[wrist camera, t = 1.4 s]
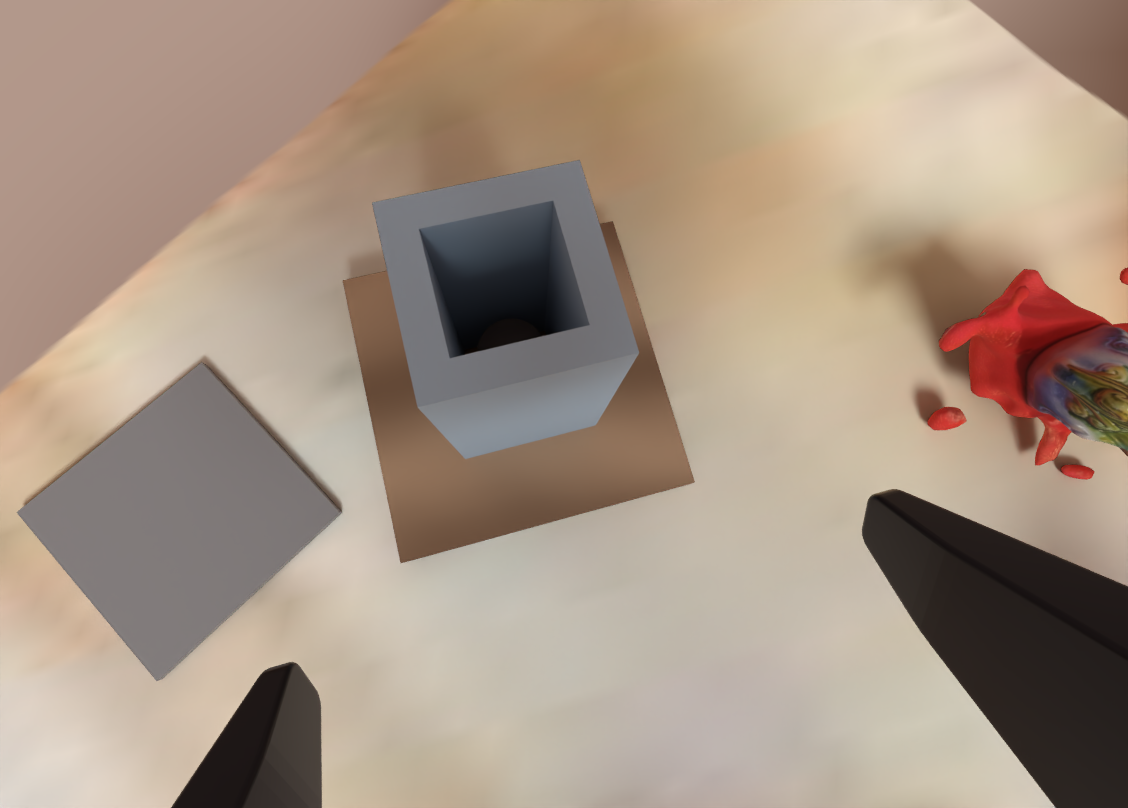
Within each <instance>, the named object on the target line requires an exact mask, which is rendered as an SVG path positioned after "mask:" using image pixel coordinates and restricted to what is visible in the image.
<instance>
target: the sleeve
mask: <svg viewBox="0 0 1128 808" xmlns="http://www.w3.org/2000/svg"><path fill="white" fill-rule="evenodd" d="M372 205H373V209H374V214H375V218H376V223H377V227H378V232H379V236H380V241H381V245H382V250H383V254H384V259H385V263H386V268H387V272H388V277H389V281H390V286H391V290H392V295H393V299H394V304H395V308H396V313H397V317H398V322H399V326H400V331H401V335H402V340H403V344H404V349H405V353H406V358H407V362H408V367H409V371H410V376H411V380H412V385H413V389H414V394H415V398H416V403H417V407H418V408H419V409H420V411H421V412H422V413H423V414H424V415H425V416H426V417H427V418H428V419H429V420H430V421H431V422H432V424H433V425H434V426H435V427H436V428H437V429H438V430H439V431H440V432H441V433H442V434H443V436H444V437H445V438H446V439H447V440H448V441H449V442H450V443H451V444H452V445H453V446H454V447H455V449H456V450H457V451H458V452H459V453H460V454H461V455H462V456H463V457H464V458H465V459H468V458H472V457H475V456H479V455H483V454H487V453H491V452H495V451H499V450H503V449H506V448H510V447H514V446H518V445H522V444H526V443H530V442H533V441H537V440H541V439H545V438H549V437H553V436H557V435H561V434H564V433H568V432H572V431H576V430H580V429H584V428H588V427H592V426H595V425H596V424H597V422H598V421H599V419H600V417H601V416H602V414H603V412H604V411H605V409H606V407H607V406H608V404H609V402H610V401H611V399H612V397H613V396H614V394H615V392H616V391H617V389H618V387H619V386H620V384H621V382H622V381H623V379H624V377H625V376H626V374H627V372H628V371H629V369H630V367H631V366H632V364H633V362H634V361H635V359H636V357H637V356H638V354H639V350H638V347H637V344H636V340H635V337H634V334H633V331H632V328H631V324H630V321H629V318H628V315H627V311H626V308H625V305H624V302H623V298H622V295H621V292H620V289H619V285H618V282H617V279H616V276H615V273H614V269H613V266H612V263H611V260H610V256H609V253H608V250H607V247H606V243H605V240H604V237H603V234H602V230H601V227H600V224H599V221H598V217H597V214H596V211H595V208H594V205H593V201H592V198H591V195H590V192H589V188H588V185H587V182H586V179H585V175H584V172H583V169H582V166H581V162H580V160H577V161H572V162H568V163H563V164H558V165H553V166H548V167H543V168H538V169H534V170H529V171H524V172H519V173H514V174H509V175H504V176H499V177H495V178H490V179H485V180H480V181H475V182H470V183H465V184H461V185H456V186H451V187H446V188H441V189H436V190H431V191H426V192H422V193H417V194H412V195H407V196H402V197H397V198H392V199H388V200H383V201H378V202H373V203H372ZM503 319H520V320H523V321H526V322H528V323H530V324H531V325H533V326H534V327H535V328H536V329H537V330H538V331H539V332H542V331H545V333H546V336H541V337H537V338H533V339H529V340H525V341H520V342H516V343H512V344H508V345H504V346H499V347H495V348H491V349H487V350H483V351H478V352H474V353H470V354H466V355H465V352H464V350H466V349H470V348H474V347H478V342H479V340H480V337H481V336H482V334H483V333H484V331H485V330H486V329H487V328H488V327H489V326H490V325H492V324H494V323H495V322H497V321H500V320H503Z"/></svg>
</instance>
